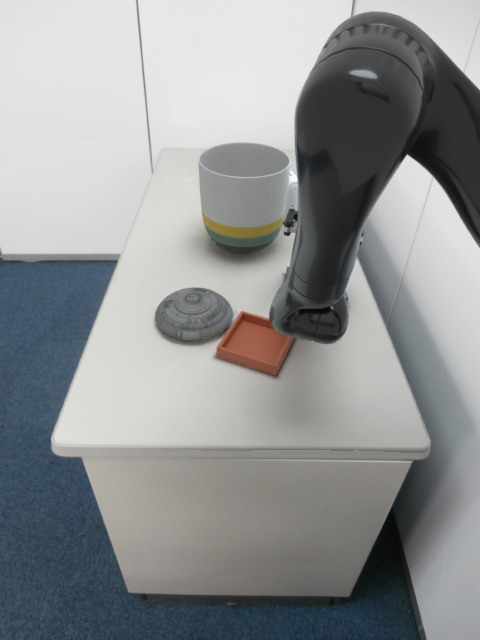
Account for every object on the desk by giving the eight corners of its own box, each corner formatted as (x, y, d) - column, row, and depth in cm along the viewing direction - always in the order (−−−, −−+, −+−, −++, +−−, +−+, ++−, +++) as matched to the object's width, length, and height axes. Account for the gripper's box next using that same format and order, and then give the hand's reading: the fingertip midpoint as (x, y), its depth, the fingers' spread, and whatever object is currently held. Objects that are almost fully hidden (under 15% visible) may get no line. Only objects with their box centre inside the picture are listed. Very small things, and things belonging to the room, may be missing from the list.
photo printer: (299, 222, 119) (304, 177, 111) (284, 225, 117) (288, 179, 109) (282, 205, 126) (286, 161, 118) (268, 208, 125) (271, 163, 117)
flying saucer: (141, 334, 85) (137, 311, 81) (176, 289, 96) (174, 267, 92) (215, 354, 81) (214, 331, 78) (243, 305, 92) (243, 283, 88)
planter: (297, 257, 106) (308, 168, 92) (220, 276, 100) (219, 183, 86) (260, 220, 119) (265, 137, 105) (190, 234, 113) (185, 148, 99)
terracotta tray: (295, 335, 85) (296, 326, 84) (275, 375, 78) (276, 366, 76) (241, 319, 89) (241, 310, 87) (216, 356, 81) (216, 347, 79)
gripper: (369, 238, 70) (369, 194, 82) (278, 226, 72) (291, 184, 85) (359, 278, 75) (361, 230, 87) (274, 265, 77) (288, 221, 89)
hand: (327, 208), depth 86 cm, fingers closed on battery charger, 7 cm apart
